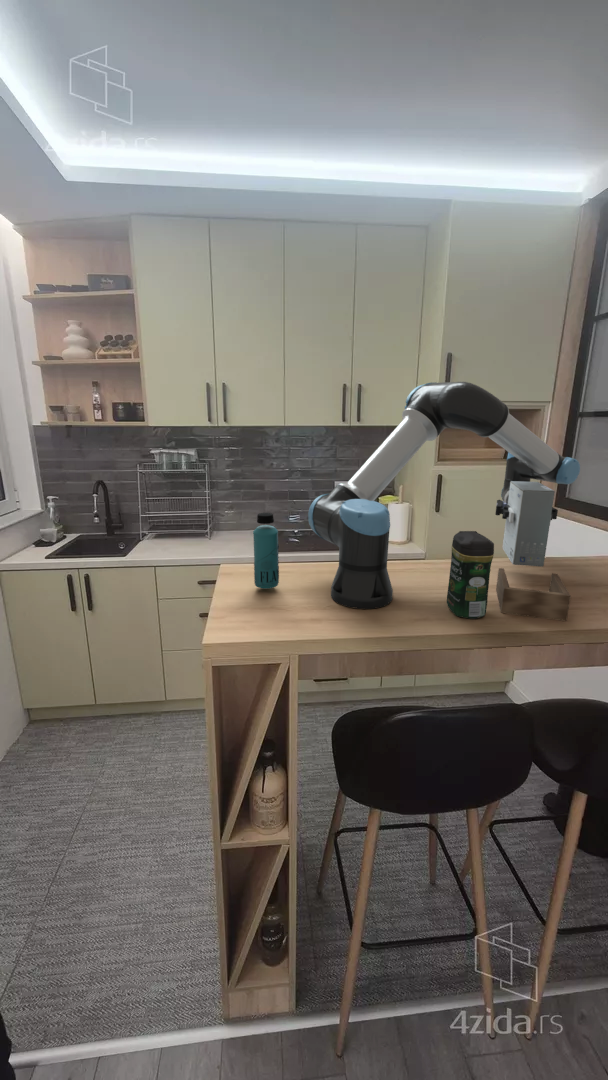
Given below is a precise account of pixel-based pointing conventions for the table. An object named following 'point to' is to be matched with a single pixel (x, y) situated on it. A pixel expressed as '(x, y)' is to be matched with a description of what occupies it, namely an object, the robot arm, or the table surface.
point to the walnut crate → (533, 599)
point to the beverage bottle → (266, 553)
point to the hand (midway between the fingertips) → (530, 519)
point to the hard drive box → (528, 523)
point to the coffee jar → (469, 574)
